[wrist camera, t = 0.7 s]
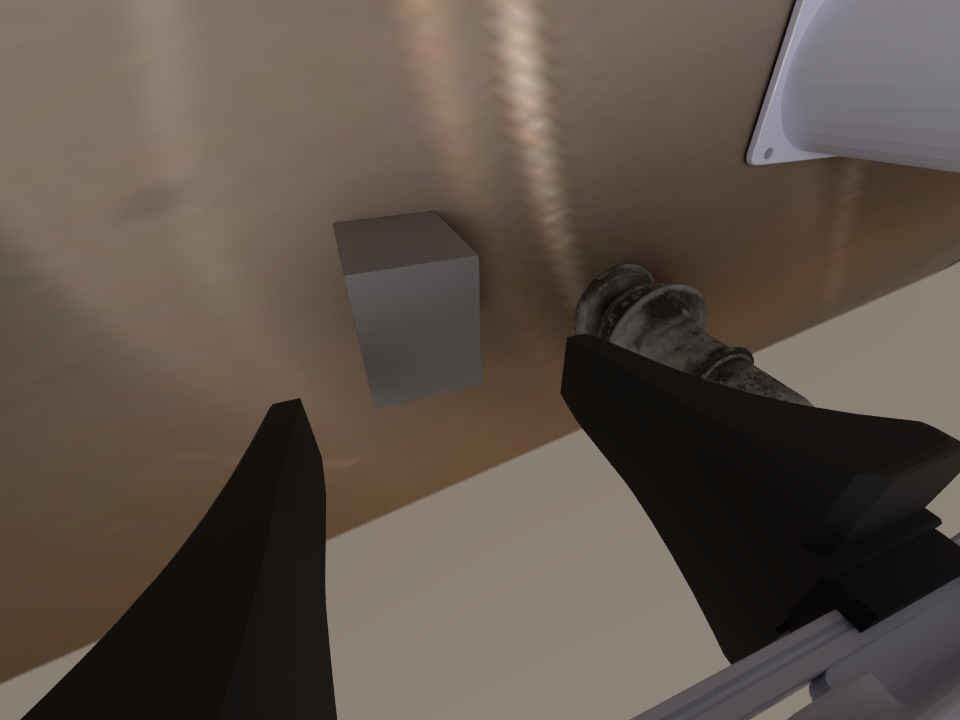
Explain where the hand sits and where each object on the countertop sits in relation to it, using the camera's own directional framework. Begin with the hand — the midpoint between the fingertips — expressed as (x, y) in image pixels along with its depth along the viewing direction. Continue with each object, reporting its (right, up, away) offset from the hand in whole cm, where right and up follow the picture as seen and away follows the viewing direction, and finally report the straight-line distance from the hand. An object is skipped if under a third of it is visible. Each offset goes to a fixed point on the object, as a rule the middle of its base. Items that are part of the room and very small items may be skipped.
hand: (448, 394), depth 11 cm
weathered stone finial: (+8, +4, +12) cm, 15 cm away
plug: (-3, +5, +7) cm, 9 cm away
